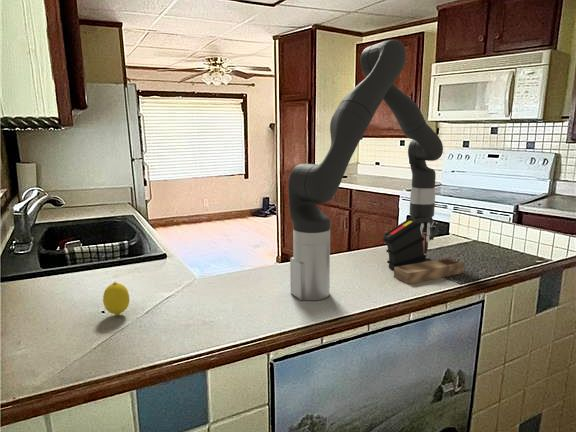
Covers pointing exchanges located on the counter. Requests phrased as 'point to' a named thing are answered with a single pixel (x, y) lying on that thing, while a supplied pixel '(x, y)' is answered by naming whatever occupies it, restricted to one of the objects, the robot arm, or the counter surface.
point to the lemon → (116, 298)
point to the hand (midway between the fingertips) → (419, 253)
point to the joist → (428, 270)
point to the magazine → (405, 244)
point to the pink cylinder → (424, 239)
